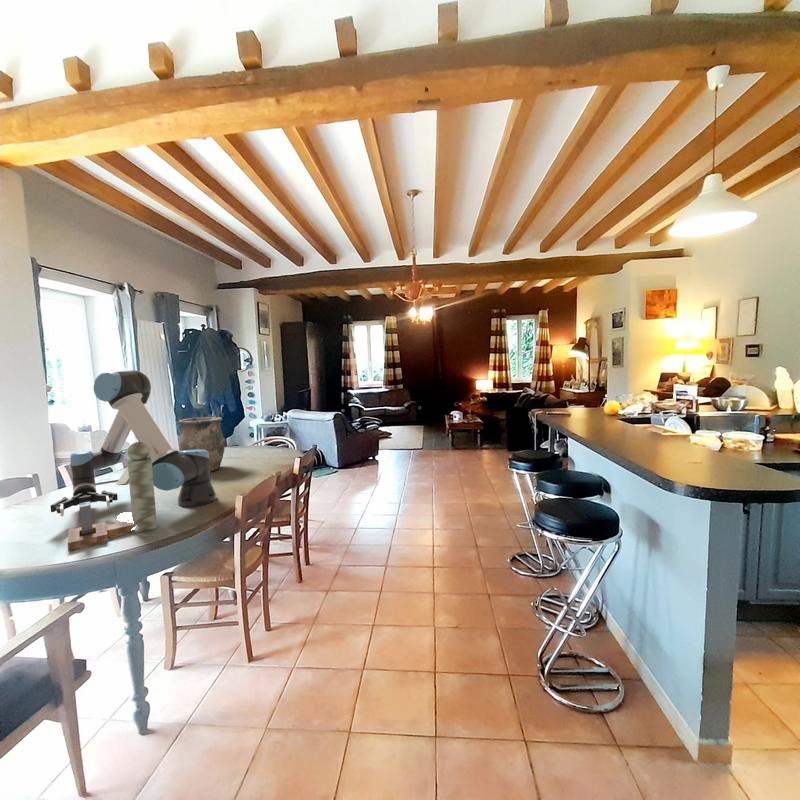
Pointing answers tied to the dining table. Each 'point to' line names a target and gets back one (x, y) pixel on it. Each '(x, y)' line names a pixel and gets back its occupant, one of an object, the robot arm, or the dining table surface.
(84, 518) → the grey rectangular block
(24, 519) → the dining table surface
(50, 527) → the dining table surface
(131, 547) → the dining table surface
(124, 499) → the dining table surface
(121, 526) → the knobbed post on base
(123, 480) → the wall
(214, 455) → the clay pot
